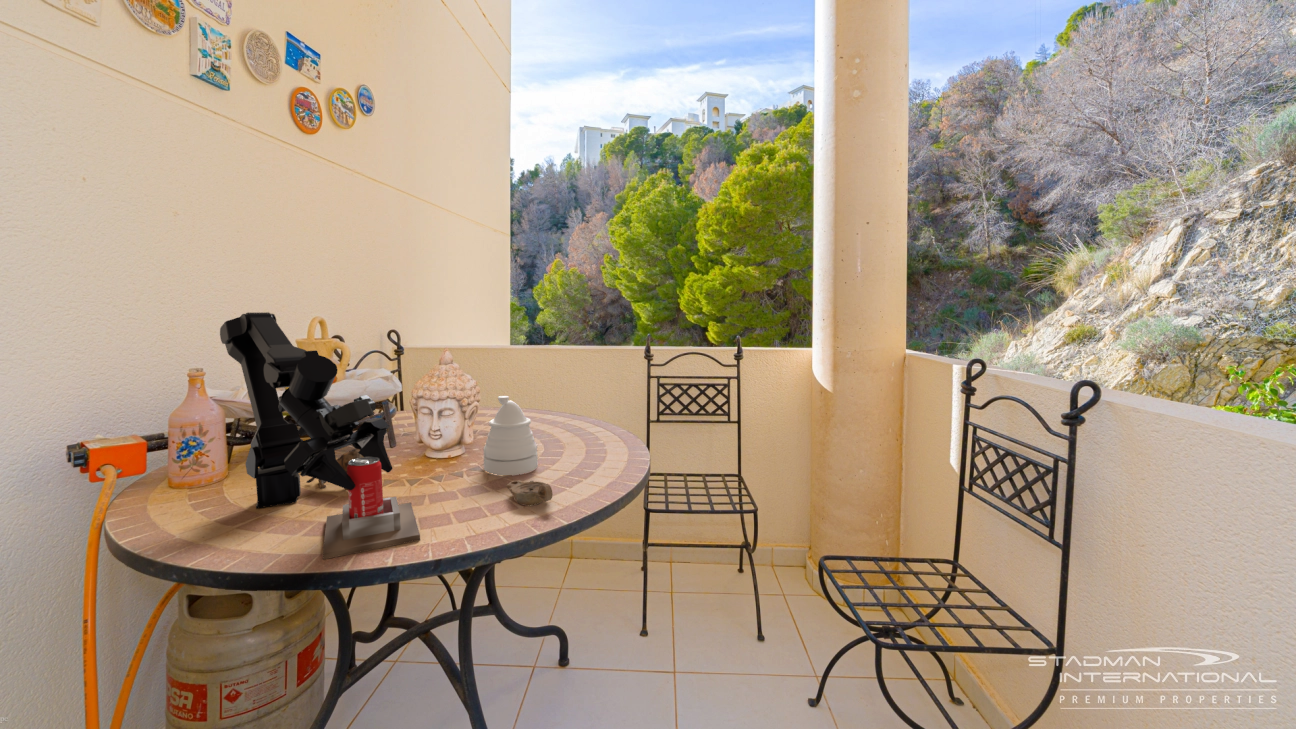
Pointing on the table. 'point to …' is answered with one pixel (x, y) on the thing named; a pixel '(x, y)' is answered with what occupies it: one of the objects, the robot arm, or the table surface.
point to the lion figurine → (342, 464)
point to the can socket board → (370, 530)
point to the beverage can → (365, 487)
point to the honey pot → (510, 442)
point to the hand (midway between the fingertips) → (372, 479)
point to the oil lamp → (530, 492)
